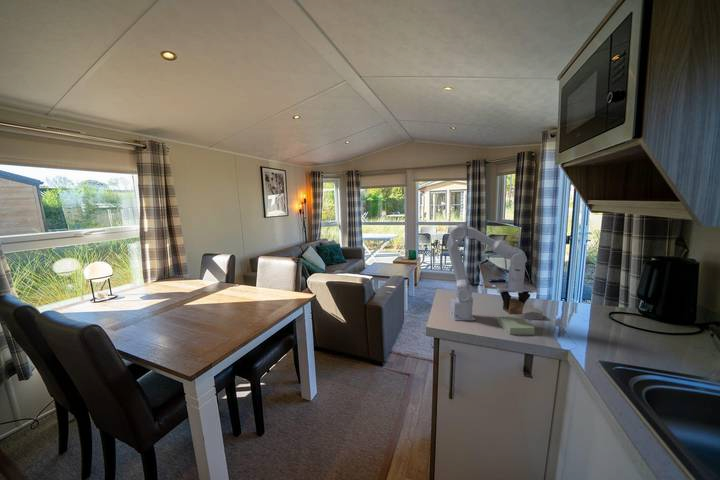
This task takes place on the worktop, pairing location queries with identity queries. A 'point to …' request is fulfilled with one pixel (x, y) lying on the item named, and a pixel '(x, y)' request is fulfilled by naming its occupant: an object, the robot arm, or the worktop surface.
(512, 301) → the walnut block
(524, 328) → the base block
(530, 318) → the stone block
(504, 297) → the robot arm
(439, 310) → the worktop surface
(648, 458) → the worktop surface
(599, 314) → the worktop surface
